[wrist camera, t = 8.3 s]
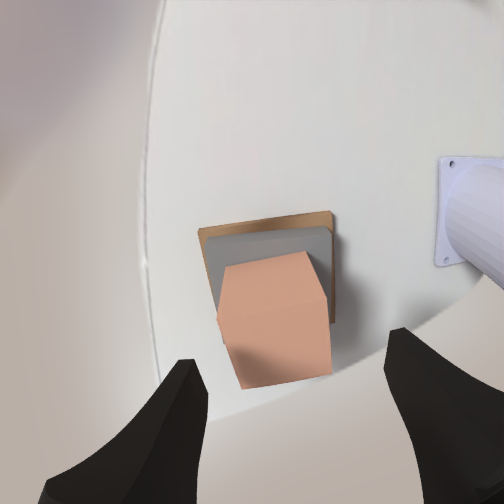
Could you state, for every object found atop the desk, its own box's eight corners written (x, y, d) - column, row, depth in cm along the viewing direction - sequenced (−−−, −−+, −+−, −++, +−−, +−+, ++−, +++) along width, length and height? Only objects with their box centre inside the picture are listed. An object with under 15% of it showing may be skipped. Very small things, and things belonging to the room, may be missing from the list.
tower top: (325, 225, 17) (331, 234, 15) (325, 321, 20) (329, 334, 18) (208, 237, 17) (203, 246, 16) (225, 330, 20) (223, 344, 19)
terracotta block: (305, 250, 16) (326, 298, 11) (314, 316, 18) (332, 373, 13) (225, 266, 16) (216, 319, 12) (243, 329, 18) (241, 389, 13)
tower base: (326, 206, 18) (331, 213, 17) (330, 311, 21) (335, 322, 20) (201, 224, 19) (197, 231, 17) (225, 324, 22) (223, 337, 20)
